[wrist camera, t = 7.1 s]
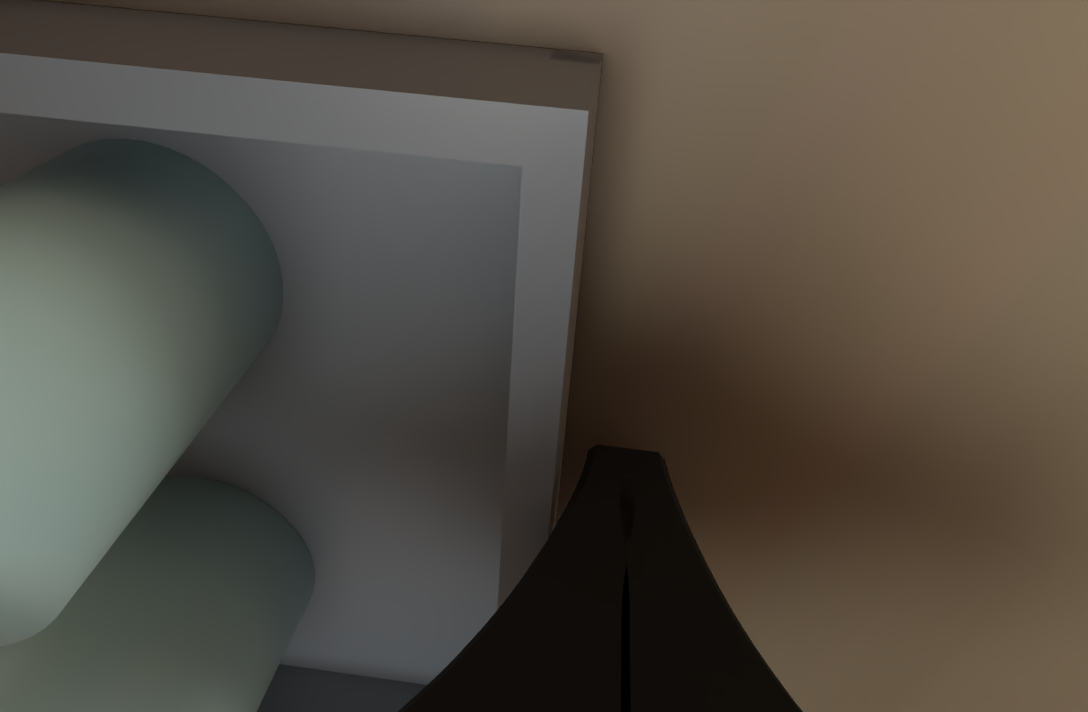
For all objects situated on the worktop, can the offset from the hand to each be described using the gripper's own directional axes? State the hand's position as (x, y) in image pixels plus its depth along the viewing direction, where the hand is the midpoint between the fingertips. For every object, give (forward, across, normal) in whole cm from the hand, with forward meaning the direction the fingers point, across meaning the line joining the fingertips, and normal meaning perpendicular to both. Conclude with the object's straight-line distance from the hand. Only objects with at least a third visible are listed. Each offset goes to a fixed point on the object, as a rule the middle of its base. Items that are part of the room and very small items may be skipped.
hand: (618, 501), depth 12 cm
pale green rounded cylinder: (0, +7, +3) cm, 7 cm away
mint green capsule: (0, +7, -3) cm, 7 cm away
